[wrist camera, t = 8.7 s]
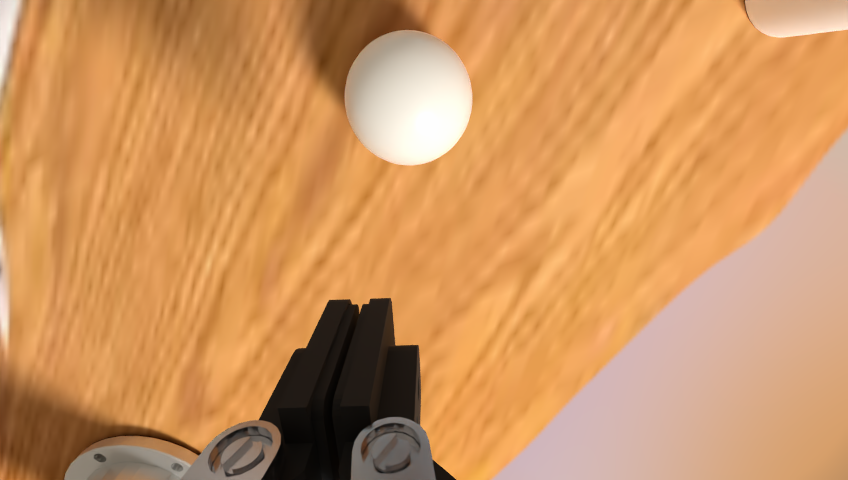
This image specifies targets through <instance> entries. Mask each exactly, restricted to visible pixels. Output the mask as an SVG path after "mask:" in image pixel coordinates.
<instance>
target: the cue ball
mask: <svg viewBox="0 0 848 480" xmlns="http://www.w3.org/2000/svg"><path fill="white" fill-rule="evenodd" d="M344 98H345V108H346V113H347V117H348V120H349V123H350V125H351V127H352V129H353V131H354V133H355V135H356V136H357V138H358V139H359V140H360V142H361V143H362V144H363V145H364V146H365V147H366V148H367V149H368V150H369V151H370V152H372V153H373V154H375V155H376V156H378V157H380V158H382V159H383V160H386V161H388V162H391V163H395V164H400V165H419V164H424V163H427V162H430V161H433V160H435V159H437V158H439V157H440V156H442V155H444V154H445V153H446V152H448V151H449V150H450V149H451V148H452V147H453V146H454V145H455V144H456V143H457V141H458V140H459V139H460V137H461V136H462V134H463V132H464V131H465V129H466V127H467V124H468V122H469V118H470V114H471V109H472V89H471V82H470V79H469V75H468V73H467V70H466V68H465V66H464V64H463V63H462V61H461V59H460V58H459V56H458V55H457V54H456V52H455V51H454V50H453V49H452V48H451V47H450V46H449V45H448V44H446V43H445V42H444V41H442V40H441V39H439V38H437V37H435V36H433V35H431V34H428V33H425V32H421V31H416V30H399V31H394V32H390V33H387V34H385V35H382V36H380V37H378V38H377V39H375V40H373V41H372V42H371V43H369V44H368V45H367V46H366V47H365V48H364V49H363V50H362V51H361V52H360V53H359V55H358V56H357V58H356V59H355V61H354V62H353V64H352V66H351V68H350V70H349V73H348V76H347V81H346V86H345V97H344Z"/></svg>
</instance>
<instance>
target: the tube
mask: <svg viewBox="0 0 848 480" xmlns="http://www.w3.org/2000/svg"><path fill="white" fill-rule="evenodd" d="M745 5H746V12H747V14H748V17H749V19H750V21H751V22H752V24H753V25H754V27H755V28H756V29H758V30H759V31H760V32H762V33H764V34H766V35H768V36H772V37H791V36H799V35H807V34H815V33H823V32H831V31H839V30H847V29H848V0H745Z"/></svg>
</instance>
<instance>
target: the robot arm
mask: <svg viewBox="0 0 848 480" xmlns="http://www.w3.org/2000/svg"><path fill="white" fill-rule="evenodd" d="M420 409H421V379H420V358H419V346H418V345H403V346H395V337H394V324H393V312H392V302H391V298H381V299H370V302H369V304H363V305H362V308H361V312H360V314H359V307H358V305H357V304H356V305H352V303H351V300H329V302H328V303H327V305H326V308H325V310H324V312H323V314H322V316H321V318H320V320H319V322H318V324H317V326H316V328H315V331H314V333H313V335H312V337H311V339H310V341H309V343H308V345H307V347H306V348H299V349H296V350H295V352H294V353H293V355H292V357H291V359H290V361H289V363H288V365H287V366H286V368H285V370H284V372H283V374H282V376H281V378H280V380H279V382H278V384H277V386H276V388H275V390H274V392H273V393H272V395H271V397H270V399H269V401H268V403H267V405H266V407H265V409H264V411H263V413H262V415H261V417H260V419H259V420H254V421H247V422H243V423H239V424H237V425H235V426H233V427H231V428H228V429H227V430H225V431H224V432H222V433H221V434H219V435H218V436H216V437H215V438H214V439H213V440H212V441H211V442H210V443H209V444H208V445H207V447H206V448H205V449H204V450H203V452H202V453H201V454H200V455H197V454H195V453H193V452H192V451H190V450H188V449H186V448H184V447H181V446H179V445H176V444H174V443H171V442H168V441H164V440H161V439H157V438H152V437H144V436H118V437H113V438H107V439H104V440H101V441H99V442H96V443H94V444H92V445H91V446H89V447H88V448H86V449H85V450H83V452H82V453H81V454H80V455H79V456H78V457H77V458H76V459H75V460H74V461H73V462H72V463H71V464H70V466H69V468H68V469H67V471H66V473H65V477H64V480H456V479H455V478H454V477H453V476H451V475H450V474H449V473H448V472H447V471H445V470H444V469H443V468H442V467H441V466H440V465H438V464H437V463H436V462H435V461H434V460H432V455H431V450H430V444H429V440H428V437H427V435H426V432H425V431H424V430H423V429H422V427H421V426H420Z"/></svg>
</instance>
